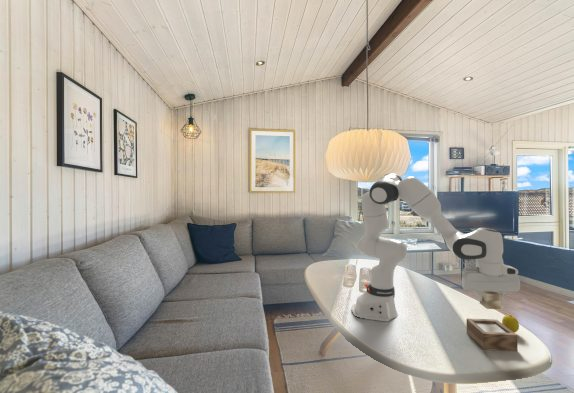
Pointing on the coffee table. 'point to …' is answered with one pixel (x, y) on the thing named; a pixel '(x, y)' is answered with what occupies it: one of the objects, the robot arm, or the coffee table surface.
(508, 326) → the lemon
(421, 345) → the coffee table surface
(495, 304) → the ash block
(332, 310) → the coffee table surface
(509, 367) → the coffee table surface
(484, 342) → the walnut frame
